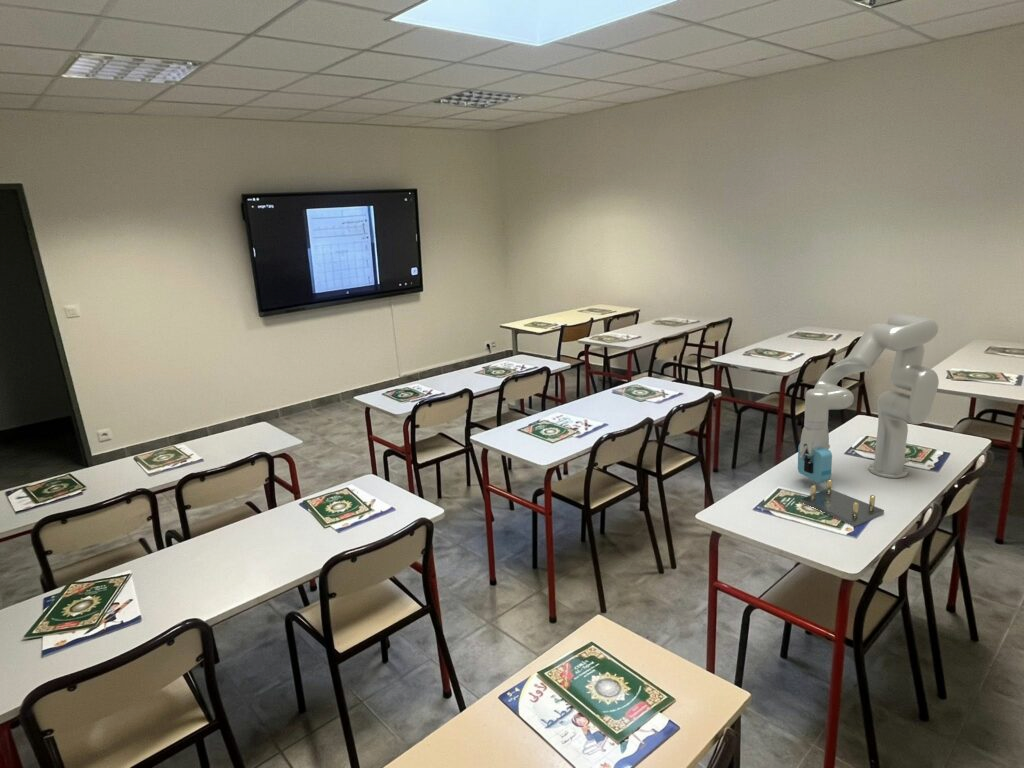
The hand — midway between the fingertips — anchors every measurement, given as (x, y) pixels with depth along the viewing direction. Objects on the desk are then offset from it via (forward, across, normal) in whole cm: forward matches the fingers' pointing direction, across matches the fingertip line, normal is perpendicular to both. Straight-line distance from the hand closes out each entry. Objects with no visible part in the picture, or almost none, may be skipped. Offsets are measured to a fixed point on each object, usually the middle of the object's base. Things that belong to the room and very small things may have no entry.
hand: (814, 469), depth 223 cm
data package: (+3, 0, 0) cm, 3 cm away
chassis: (+6, +8, +17) cm, 20 cm away
